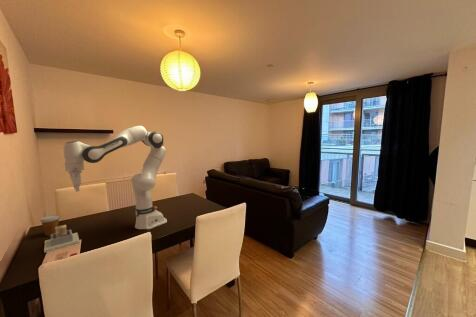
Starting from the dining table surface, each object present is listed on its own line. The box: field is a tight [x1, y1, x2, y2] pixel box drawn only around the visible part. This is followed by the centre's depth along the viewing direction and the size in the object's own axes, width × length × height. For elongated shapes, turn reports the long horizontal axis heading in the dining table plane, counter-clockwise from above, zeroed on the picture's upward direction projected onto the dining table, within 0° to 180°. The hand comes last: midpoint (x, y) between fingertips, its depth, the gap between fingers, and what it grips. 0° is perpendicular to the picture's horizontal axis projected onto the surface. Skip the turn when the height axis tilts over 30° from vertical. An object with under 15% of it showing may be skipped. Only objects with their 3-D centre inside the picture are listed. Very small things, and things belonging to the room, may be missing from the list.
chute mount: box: [43, 229, 80, 254], centre depth 125 cm, size 16×15×6 cm
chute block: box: [55, 224, 68, 238], centre depth 125 cm, size 5×5×9 cm
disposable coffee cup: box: [40, 214, 60, 237], centre depth 137 cm, size 10×10×12 cm
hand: (76, 189), depth 122 cm, fingers open, 8 cm apart
